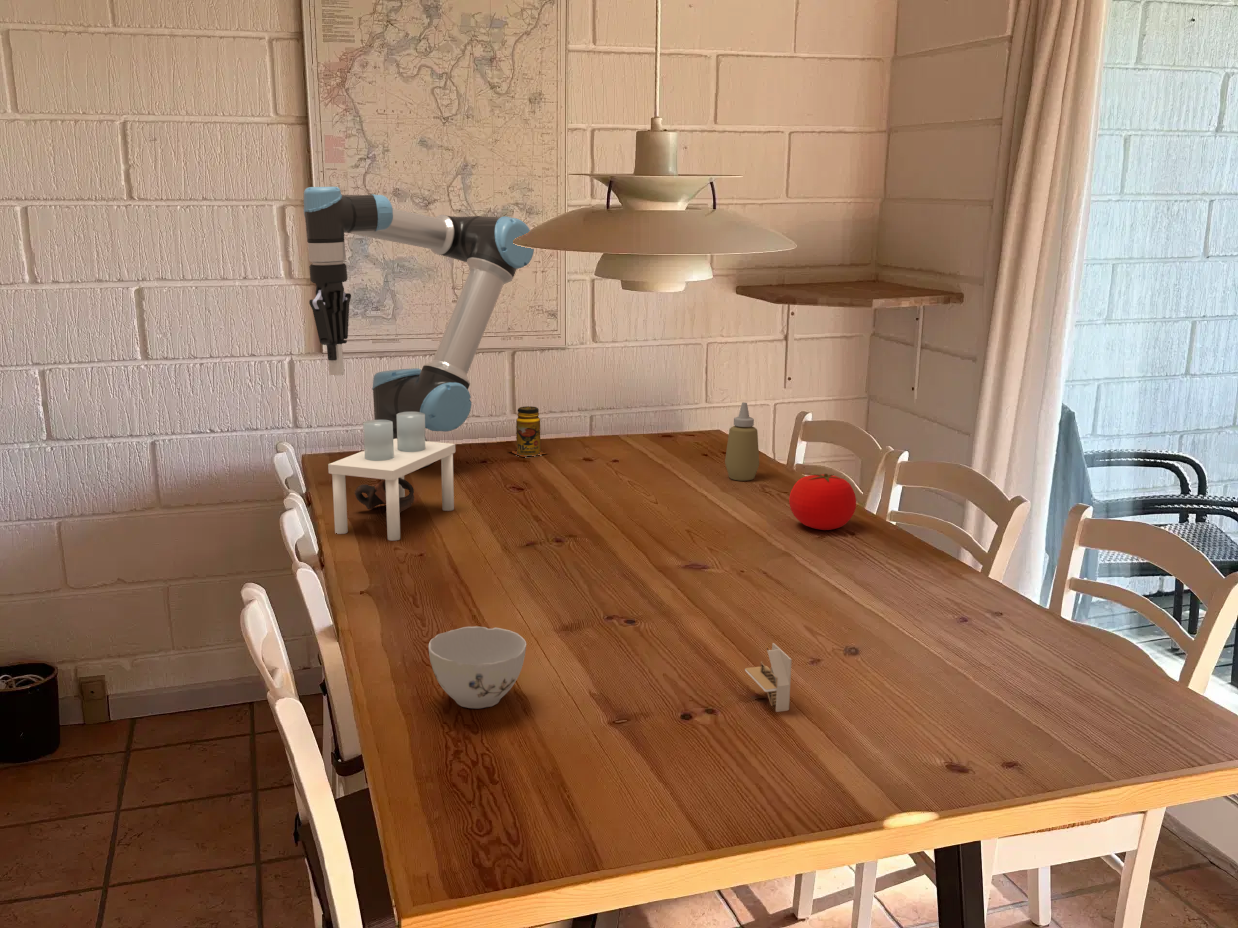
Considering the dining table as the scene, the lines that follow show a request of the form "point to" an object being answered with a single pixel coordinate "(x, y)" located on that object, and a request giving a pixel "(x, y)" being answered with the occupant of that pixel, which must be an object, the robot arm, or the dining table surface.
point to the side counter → (391, 480)
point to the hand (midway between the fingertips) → (336, 374)
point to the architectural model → (774, 678)
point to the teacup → (477, 664)
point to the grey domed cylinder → (410, 431)
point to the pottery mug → (383, 495)
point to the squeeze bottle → (742, 447)
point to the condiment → (528, 431)
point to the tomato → (822, 501)
